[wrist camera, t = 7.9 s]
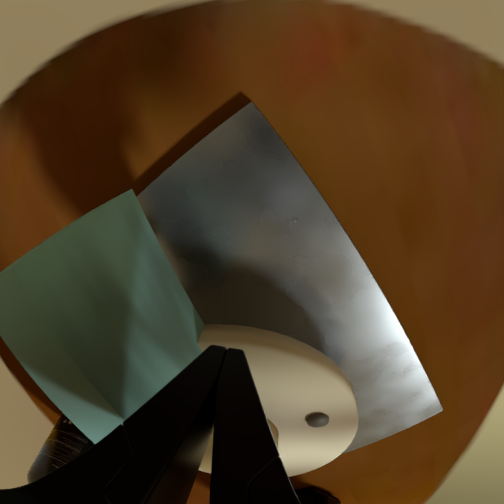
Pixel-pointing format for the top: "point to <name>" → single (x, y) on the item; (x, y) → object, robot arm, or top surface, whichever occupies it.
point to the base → (284, 266)
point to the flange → (153, 338)
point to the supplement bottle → (59, 448)
